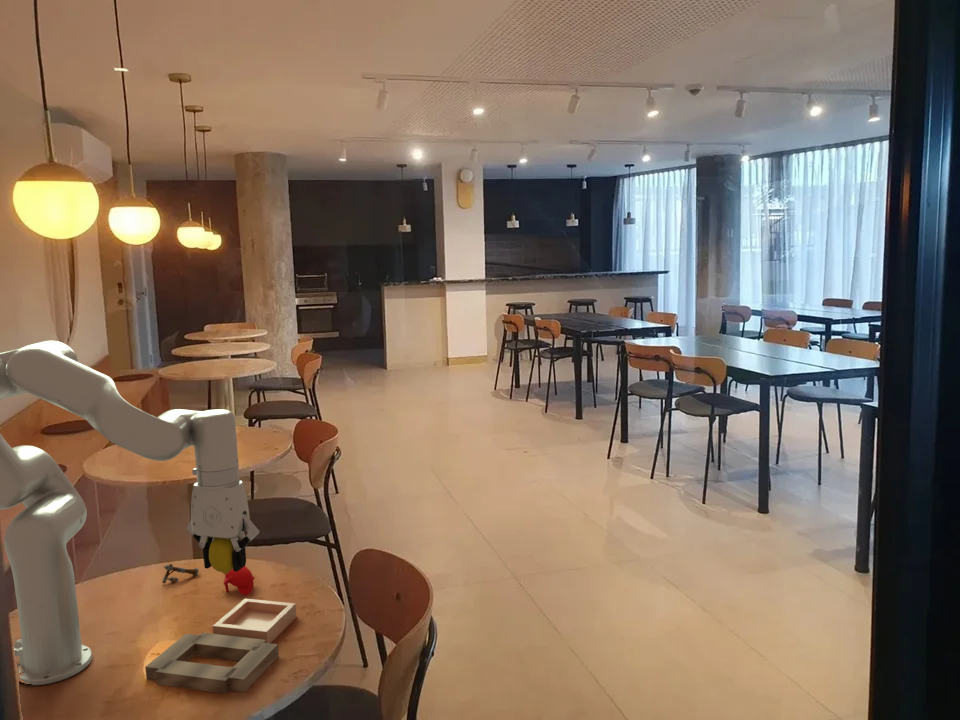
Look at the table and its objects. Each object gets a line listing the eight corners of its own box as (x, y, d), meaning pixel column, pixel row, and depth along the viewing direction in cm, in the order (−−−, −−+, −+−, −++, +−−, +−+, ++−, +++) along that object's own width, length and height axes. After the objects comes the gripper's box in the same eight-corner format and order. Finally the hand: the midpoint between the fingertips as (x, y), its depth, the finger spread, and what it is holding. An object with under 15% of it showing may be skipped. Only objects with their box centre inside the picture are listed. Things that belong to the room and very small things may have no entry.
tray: (213, 639, 148) (212, 625, 147) (245, 611, 159) (244, 598, 159) (267, 646, 145) (266, 631, 144) (296, 616, 156) (295, 603, 156)
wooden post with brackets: (157, 581, 173) (164, 562, 174) (190, 584, 178) (196, 566, 179) (160, 583, 172) (166, 564, 172) (192, 587, 177) (199, 569, 178)
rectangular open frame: (142, 682, 133) (141, 669, 133) (190, 642, 147) (189, 631, 146) (241, 695, 129) (240, 682, 128) (281, 653, 142) (280, 641, 142)
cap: (213, 577, 169) (221, 571, 165) (234, 560, 173) (242, 554, 169) (235, 604, 169) (243, 599, 165) (255, 587, 173) (263, 582, 169)
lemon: (204, 576, 140) (200, 536, 139) (227, 565, 144) (224, 526, 143) (224, 582, 137) (221, 541, 136) (247, 571, 142) (244, 531, 141)
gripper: (165, 479, 137) (174, 571, 139) (247, 484, 132) (253, 579, 135) (191, 467, 144) (199, 555, 146) (269, 472, 139) (275, 563, 142)
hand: (225, 566), depth 141 cm, fingers closed on lemon, 5 cm apart
